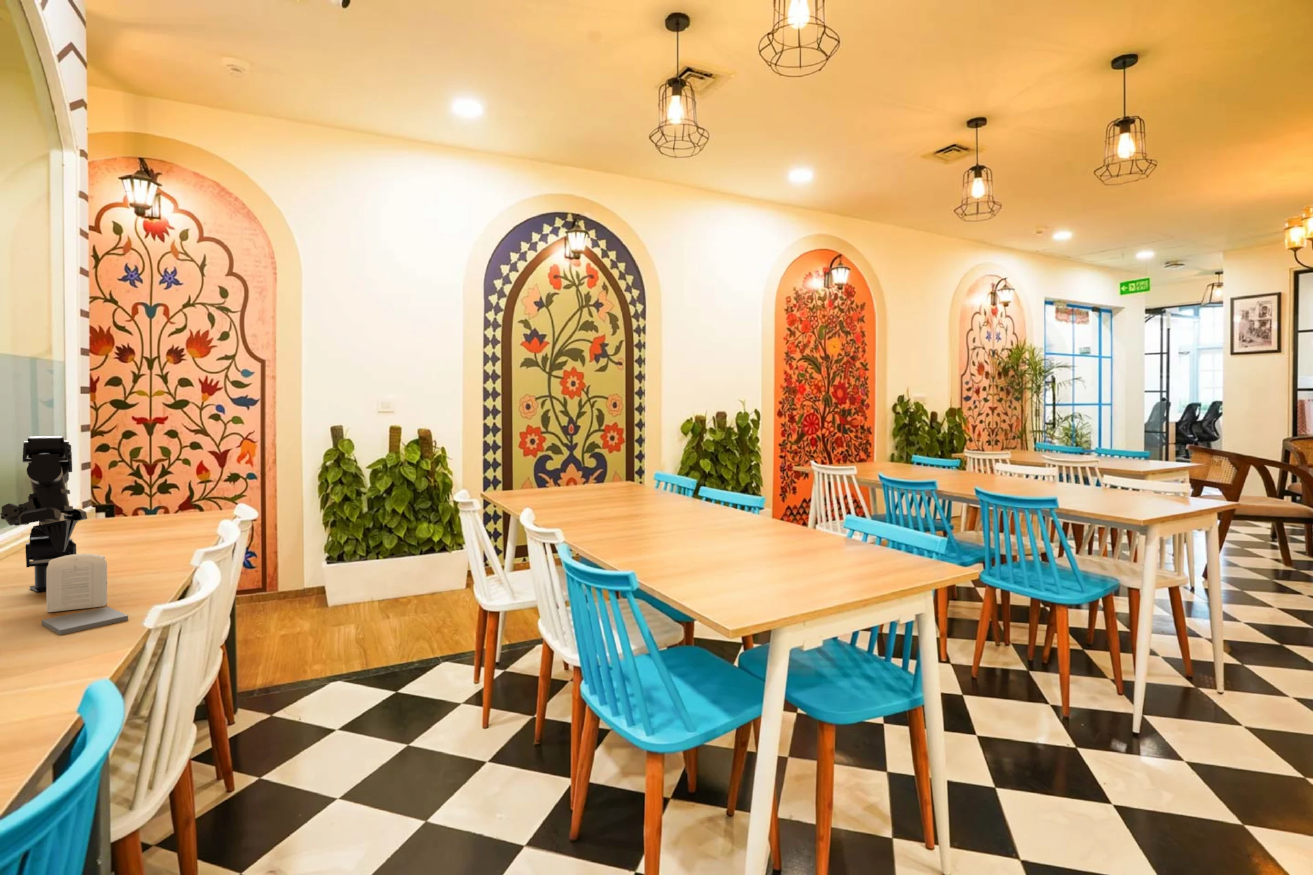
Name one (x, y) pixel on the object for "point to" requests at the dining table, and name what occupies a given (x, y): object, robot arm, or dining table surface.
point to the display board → (84, 620)
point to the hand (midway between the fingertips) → (61, 551)
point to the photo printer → (76, 582)
